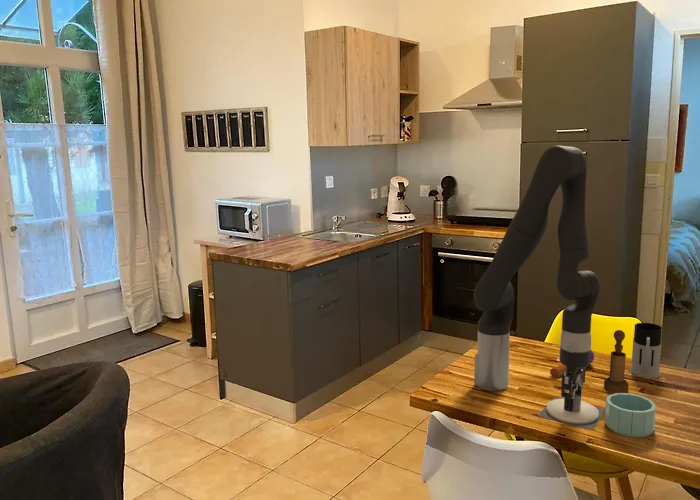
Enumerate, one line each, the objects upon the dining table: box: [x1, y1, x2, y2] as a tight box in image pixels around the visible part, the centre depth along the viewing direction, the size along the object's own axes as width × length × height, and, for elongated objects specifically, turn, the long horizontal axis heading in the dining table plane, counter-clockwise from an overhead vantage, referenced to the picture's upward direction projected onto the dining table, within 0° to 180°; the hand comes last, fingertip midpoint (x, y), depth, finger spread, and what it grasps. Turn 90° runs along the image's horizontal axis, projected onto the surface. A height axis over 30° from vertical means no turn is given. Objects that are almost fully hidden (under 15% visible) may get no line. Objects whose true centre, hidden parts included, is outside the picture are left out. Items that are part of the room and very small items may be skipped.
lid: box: [546, 394, 599, 424], centre depth 154 cm, size 13×13×4 cm
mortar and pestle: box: [603, 329, 630, 394], centre depth 167 cm, size 7×6×18 cm
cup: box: [604, 392, 657, 438], centre depth 146 cm, size 11×11×7 cm
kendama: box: [549, 349, 595, 378], centre depth 184 cm, size 6×6×20 cm
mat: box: [537, 396, 606, 431], centre depth 154 cm, size 14×14×1 cm
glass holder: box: [629, 322, 663, 379], centre depth 177 cm, size 9×14×15 cm, turn 154°
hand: (572, 405), depth 154 cm, fingers open, 7 cm apart
